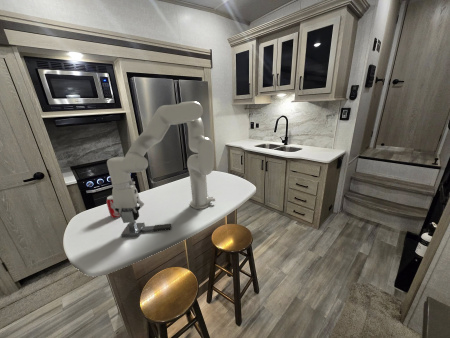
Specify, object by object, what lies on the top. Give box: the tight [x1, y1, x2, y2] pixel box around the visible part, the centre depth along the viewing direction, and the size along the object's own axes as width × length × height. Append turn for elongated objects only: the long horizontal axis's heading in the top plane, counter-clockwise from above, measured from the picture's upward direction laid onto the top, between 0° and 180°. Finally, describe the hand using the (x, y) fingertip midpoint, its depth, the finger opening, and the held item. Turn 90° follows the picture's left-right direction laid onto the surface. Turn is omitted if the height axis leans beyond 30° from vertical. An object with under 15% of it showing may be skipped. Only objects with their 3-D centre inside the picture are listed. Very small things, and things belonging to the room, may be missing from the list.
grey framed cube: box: [120, 208, 136, 224], centre depth 85 cm, size 5×5×6 cm
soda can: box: [106, 194, 121, 219], centre depth 100 cm, size 7×7×12 cm
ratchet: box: [120, 220, 172, 239], centre depth 88 cm, size 22×8×5 cm, turn 95°
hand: (130, 218), depth 86 cm, fingers closed on grey framed cube, 5 cm apart
